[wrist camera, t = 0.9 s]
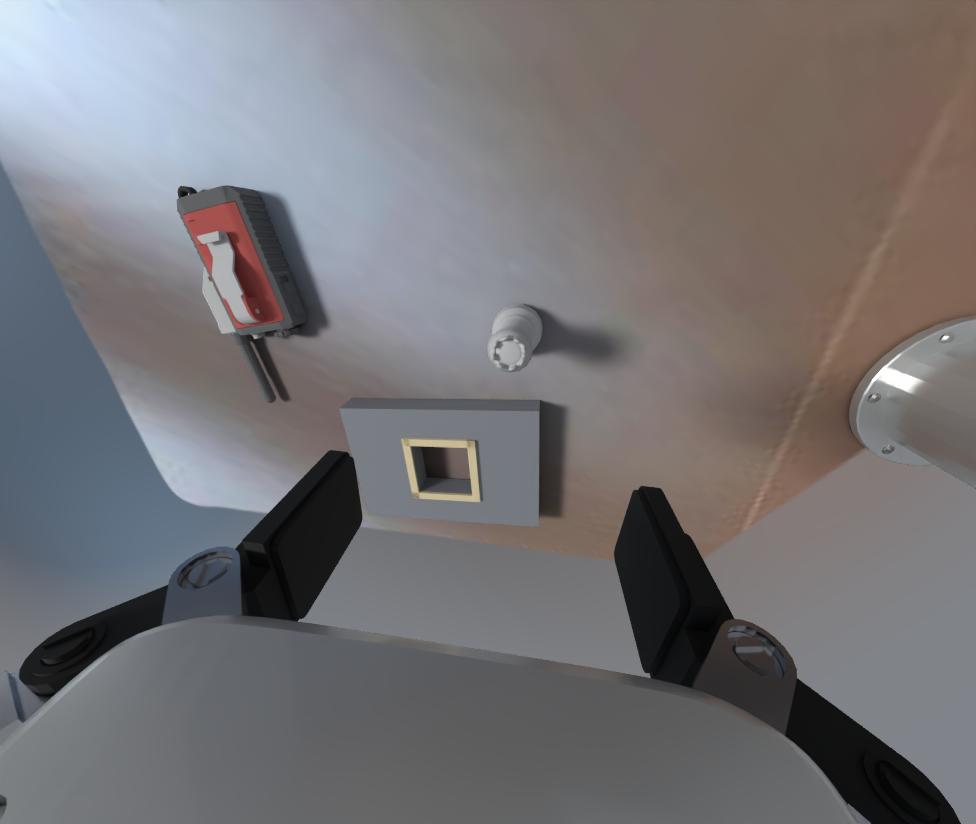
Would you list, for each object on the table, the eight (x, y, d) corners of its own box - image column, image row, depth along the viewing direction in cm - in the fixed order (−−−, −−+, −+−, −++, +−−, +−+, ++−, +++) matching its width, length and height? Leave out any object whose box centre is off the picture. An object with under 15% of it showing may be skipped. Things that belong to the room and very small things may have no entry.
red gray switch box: (175, 195, 31) (272, 398, 39) (121, 188, 27) (242, 415, 35) (256, 171, 29) (340, 390, 37) (210, 160, 25) (315, 408, 33)
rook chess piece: (553, 327, 30) (554, 354, 23) (518, 362, 32) (509, 396, 25) (516, 291, 29) (506, 307, 22) (483, 329, 31) (463, 355, 24)
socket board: (539, 400, 33) (539, 412, 31) (539, 510, 40) (538, 529, 37) (351, 398, 37) (337, 409, 34) (377, 500, 43) (367, 516, 40)
